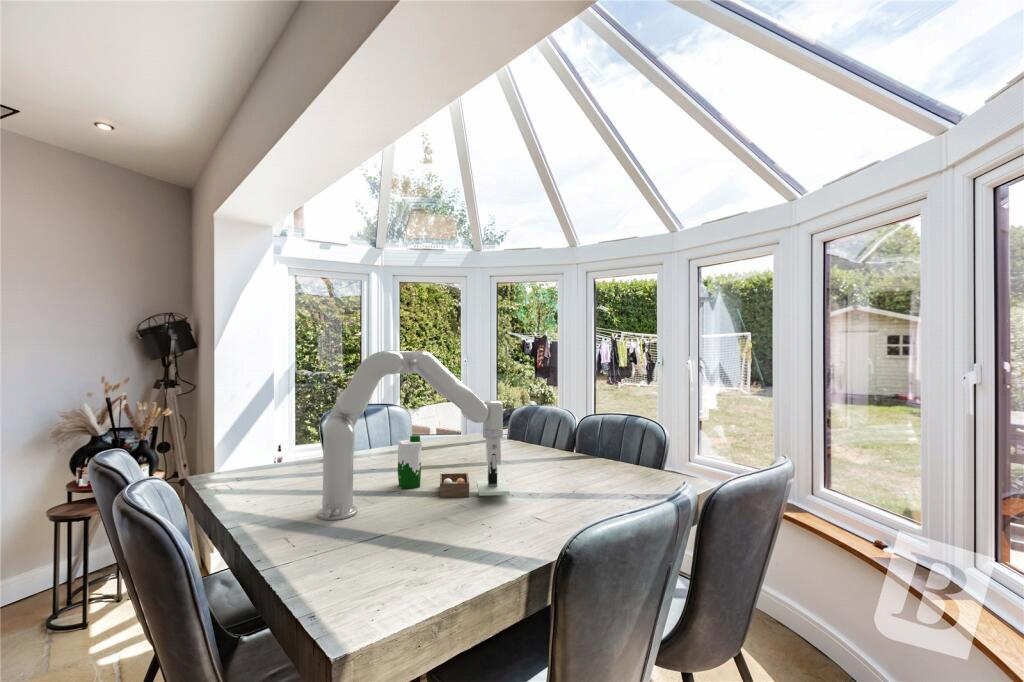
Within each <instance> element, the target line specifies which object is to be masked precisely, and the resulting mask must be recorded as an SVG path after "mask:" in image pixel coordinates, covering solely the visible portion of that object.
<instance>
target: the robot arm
mask: <svg viewBox="0 0 1024 682" xmlns="http://www.w3.org/2000/svg"><path fill="white" fill-rule="evenodd" d="M397 374H401V375H402V374H404V375H405V374H417V375H419V376H420V377H421V379H423V380H424V381H425V382H426V383H427V384H428V385H429V386H431V388H432V389H433V390H435V392H436V393H438V394H439V396H441V397H443V398H444V399H446V400H448V401H449V402H451V403H452V404H454V406H456V407H458V409H459V410H460V412H461V414H462V417H464V418H465V419H466V420H467V421H471V422H473V423H474V424H475V423H476V424H481V423H482V438H483V439H485V458H486V459H485V460H486V463H487V467H488V466H489V484H497V480H498V465H499V466H501V465H502V456H501V455H502V453H501V451H502V449H501V447H502V445H501V439H502V438H503V437H504V435H503V434H504V433H503V432H504V430H503V429H504V420H503V419H504V403H503V402H502V401H501V400H498V399H489V400H481V398H479V397H478V396H477V395H476V394H475V393H474V392H473V391H472V390H471V389H470V388H468V386H467V385H465V384H464V383H463V382H462V381H461V380H460V379H459V378H457V377H456V375H454V374H453V373H452V372H451V371H450V370H449V369H448V368H447V367H446V366H445V365H444V364H443V363H442V362H441V361H440V360H439V359H438V358H437V357H436V356H434V355H433V354H432V353H431V352H429V351H426V350H411V351H410V350H393V349H392V350H391V349H390V350H380V351H377V352H374V353H372V354H370V355H369V356H367V357H366V358H365V359H364V360H363V361H362V362H360V363H359V365H358V367H357V369H356V371H355V372H354V374H353V376H352V377H351V379H350V381H349V383H348V385H347V387H346V389H344V390H343V391H342V392H341V393H340V394H339V396H338V398H337V399H336V401H335V403H334V406H333V408H332V410H331V412H330V413H329V415H328V418H327V419H326V421H325V424H324V428H323V436H322V437H323V440H322V442H323V443H322V445H323V446H322V447H323V455H322V501H321V502H322V503H321V504H322V508H320V509H319V510H317V512H316V516H317V518H319V519H320V520H324V521H325V520H326V521H337V520H338V521H339V520H344V519H348V518H351V517H353V516H355V515H356V514H357V513H358V507H357V506H355V505H353V504H354V503H353V501H354V500H353V499H354V498H353V497H354V496H353V495H354V457H355V456H354V454H355V453H354V452H355V426H356V424H357V422H358V421H359V418H360V416H362V414H364V412H365V411H366V410H367V408H368V405H369V402H370V400H371V398H372V395H373V394H374V392H375V389H377V386H378V384H379V383H380V381H381V380H382V379H383V378H384V377H385V376H387V375H397ZM491 466H492V467H491Z"/></svg>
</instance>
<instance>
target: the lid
mask: <svg viewBox="0 0 1024 682" xmlns="http://www.w3.org/2000/svg"><path fill="white" fill-rule="evenodd" d="M491 467H492V466H491ZM476 487H477V492H478V496H480V497H481V496H503V495H504V496H505V495H507V496H508V495H510V492H511V491H510V489H509V487H508V485H507V482H506V480H505V479H503V480H502V479H499V480H498V479H497V484H489V466H488V465H487V480H476Z"/></svg>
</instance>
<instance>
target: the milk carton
mask: <svg viewBox="0 0 1024 682" xmlns="http://www.w3.org/2000/svg"><path fill="white" fill-rule="evenodd" d="M422 445H423V443H422V441H421V435H418V434H417V435H410V437H409V439H404V440H398V445H397V446H398V448H397V451H398V452H397V480H398V486H399V487H400V488H401V490H407V489H416V488H421V479H422Z"/></svg>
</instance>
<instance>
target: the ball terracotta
mask: <svg viewBox="0 0 1024 682" xmlns="http://www.w3.org/2000/svg"><path fill="white" fill-rule="evenodd" d="M456 482H457V483H465V480H464V479H462V478H459V479H457V481H456Z"/></svg>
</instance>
